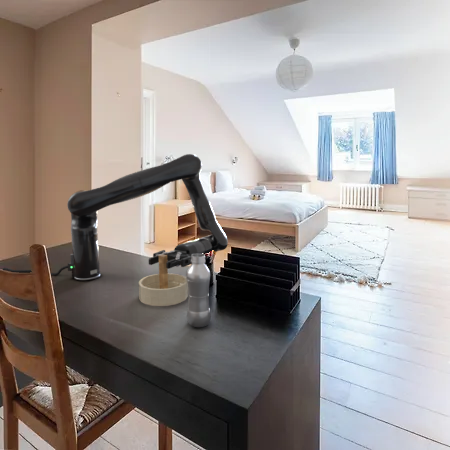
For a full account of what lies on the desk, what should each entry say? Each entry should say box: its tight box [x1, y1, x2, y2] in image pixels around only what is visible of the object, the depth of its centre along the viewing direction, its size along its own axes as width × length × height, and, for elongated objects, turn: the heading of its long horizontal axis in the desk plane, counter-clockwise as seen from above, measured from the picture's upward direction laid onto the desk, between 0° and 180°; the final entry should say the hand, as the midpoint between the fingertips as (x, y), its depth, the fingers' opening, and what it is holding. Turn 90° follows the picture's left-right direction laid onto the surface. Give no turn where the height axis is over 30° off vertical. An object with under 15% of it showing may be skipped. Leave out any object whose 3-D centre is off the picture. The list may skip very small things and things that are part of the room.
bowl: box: [138, 272, 189, 307], centre depth 116 cm, size 16×16×6 cm
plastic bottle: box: [185, 254, 212, 328], centre depth 96 cm, size 6×7×20 cm
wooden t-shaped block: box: [158, 254, 169, 289], centre depth 115 cm, size 5×2×14 cm, turn 59°
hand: (158, 263), depth 112 cm, fingers open, 7 cm apart
